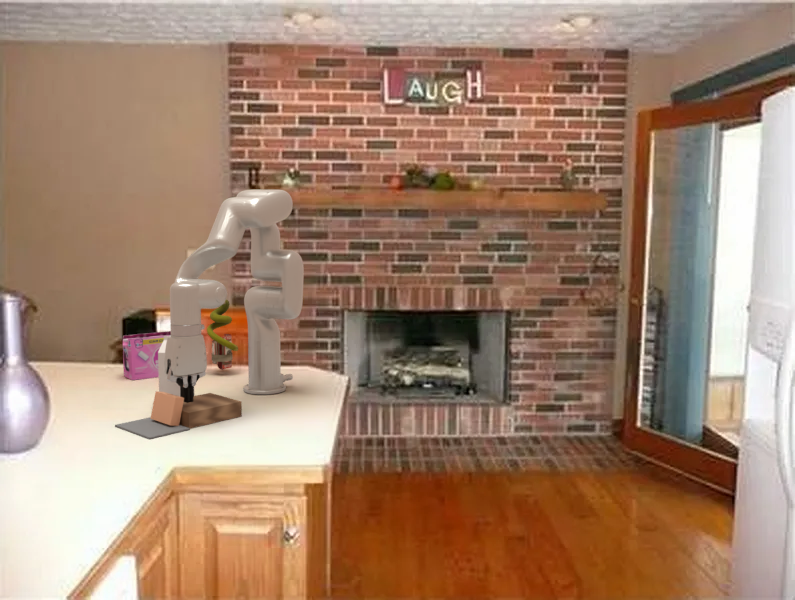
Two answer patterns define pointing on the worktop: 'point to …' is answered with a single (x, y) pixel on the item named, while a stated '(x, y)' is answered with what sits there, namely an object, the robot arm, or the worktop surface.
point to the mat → (151, 428)
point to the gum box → (142, 354)
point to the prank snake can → (221, 338)
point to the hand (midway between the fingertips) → (187, 401)
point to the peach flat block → (167, 408)
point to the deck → (209, 410)
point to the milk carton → (163, 382)
